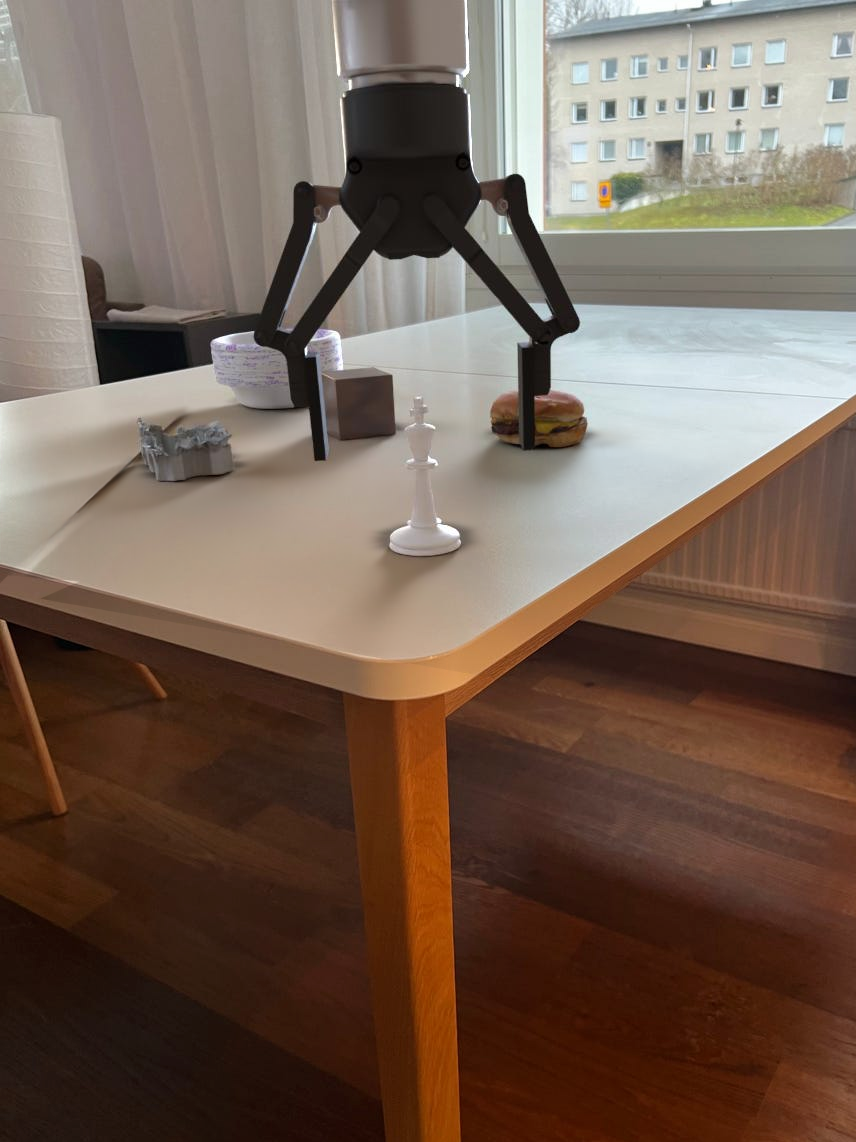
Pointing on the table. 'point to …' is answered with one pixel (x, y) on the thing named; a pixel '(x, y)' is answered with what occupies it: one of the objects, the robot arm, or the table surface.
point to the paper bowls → (266, 367)
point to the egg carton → (186, 451)
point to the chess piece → (423, 497)
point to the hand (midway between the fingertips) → (424, 451)
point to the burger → (541, 419)
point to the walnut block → (358, 403)
